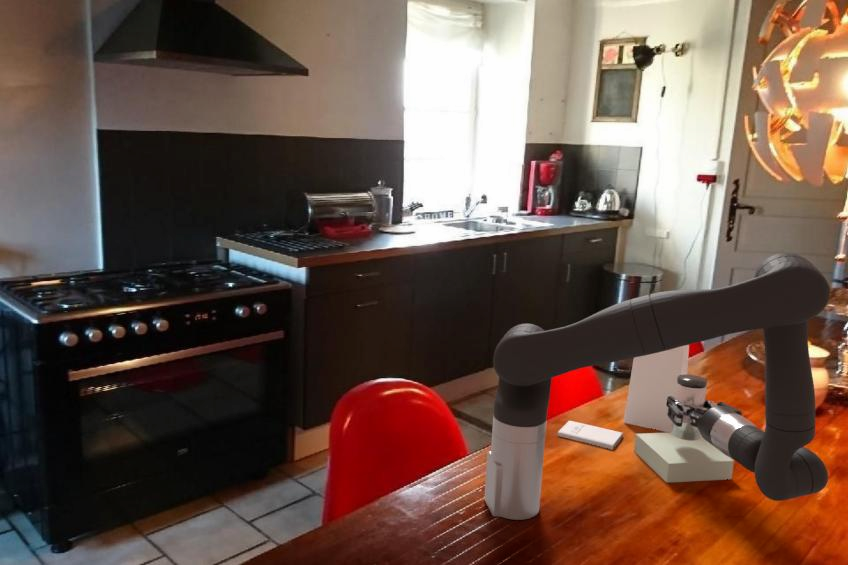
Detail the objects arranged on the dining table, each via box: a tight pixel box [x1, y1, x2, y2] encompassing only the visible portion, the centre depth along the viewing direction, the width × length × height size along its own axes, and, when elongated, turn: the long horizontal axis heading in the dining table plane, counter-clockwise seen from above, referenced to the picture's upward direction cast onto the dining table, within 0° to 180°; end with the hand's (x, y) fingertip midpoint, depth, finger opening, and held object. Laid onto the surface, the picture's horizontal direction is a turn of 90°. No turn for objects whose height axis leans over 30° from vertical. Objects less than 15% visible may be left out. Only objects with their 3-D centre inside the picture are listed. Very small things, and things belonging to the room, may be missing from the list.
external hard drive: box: [557, 420, 624, 451], centre depth 159 cm, size 2×8×12 cm
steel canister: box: [672, 373, 708, 441], centre depth 144 cm, size 6×6×12 cm
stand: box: [633, 432, 735, 483], centre depth 147 cm, size 14×14×4 cm
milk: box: [623, 344, 690, 433], centre depth 168 cm, size 12×12×26 cm
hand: (682, 400), depth 147 cm, fingers closed on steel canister, 5 cm apart
